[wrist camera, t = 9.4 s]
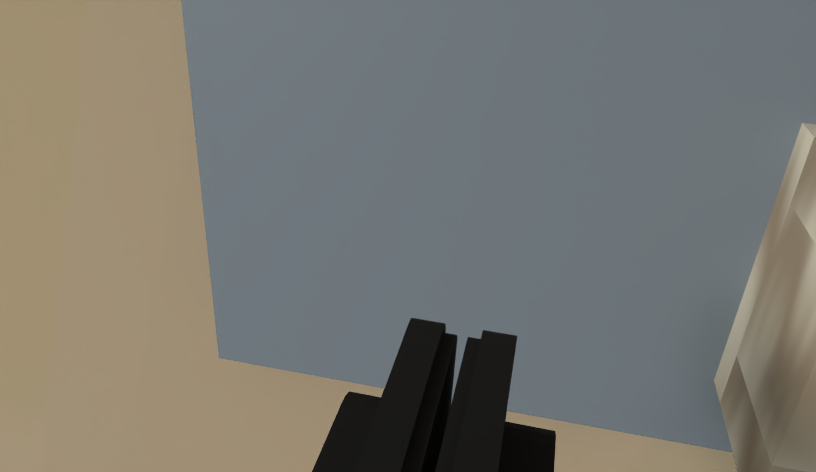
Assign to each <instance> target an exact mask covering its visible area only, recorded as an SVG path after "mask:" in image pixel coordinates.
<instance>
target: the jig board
mask: <svg viewBox="0 0 816 472" xmlns="http://www.w3.org/2000/svg"><path fill="white" fill-rule="evenodd" d="M181 2H182V11H183V21H184V30H185V40H186V49H187V59H188V68H189V78H190V87H191V97H192V106H193V116H194V125H195V135H196V144H197V153H198V163H199V172H200V182H201V191H202V201H203V210H204V220H205V229H206V239H207V248H208V258H209V267H210V277H211V286H212V296H213V305H214V315H215V324H216V334H217V343H218V352H219V358H222V359H228V360H233V361H239V362H244V363H249V364H255V365H260V366H266V367H271V368H277V369H282V370H287V371H293V372H298V373H304V374H309V375H315V376H320V377H326V378H331V379H336V380H342V381H347V382H353V383H358V384H364V385H369V386H374V387H380V388H385V386H386V383H387V381H388V378H389V375H390V372H391V370H392V367H393V364H394V361H395V359H396V356H397V353H398V351H399V348H400V345H401V342H402V340H403V337H404V334H405V332H406V329H407V326H408V323H409V321H410V319H411V318H416V319H422V320H428V321H434V322H440V323H445V324H446V333H449V334H455V335H457V349H456V359H455V369H454V380H453V390H452V399H453V395H454V391H455V387H456V383H457V379H458V375H459V371H460V366H461V362H462V358H463V354H464V350H465V346H466V342H467V338H468V337H472V338H478V339H481V336H482V332H483V330H486V331H492V332H498V333H504V334H510V335H516V336H517V343H516V350H515V357H514V364H513V371H512V378H511V384H510V391H509V398H508V405H507V411H510V412H516V413H521V414H527V415H532V416H538V417H543V418H549V419H554V420H559V421H565V422H570V423H576V424H581V425H587V426H592V427H597V428H603V429H608V430H614V431H619V432H625V433H630V434H636V435H641V436H646V437H652V438H657V439H663V440H668V441H674V442H679V443H684V444H690V445H695V446H701V447H706V448H712V449H717V450H723V451H728V452H732V448H731V444H730V440H729V436H728V432H727V429H726V425H725V421H724V417H723V413H722V409H721V405H720V402H719V398H718V394H717V390H716V386H715V382H714V379H715V376H716V373H717V370H718V367H719V364H720V361H721V358H722V355H723V352H724V349H725V346H726V344H727V341H728V338H729V335H730V332H731V329H732V326H733V323H734V320H735V317H736V314H737V311H738V309H739V306H740V303H741V300H742V297H743V294H744V291H745V288H746V285H747V282H748V279H749V276H750V274H751V271H752V268H753V265H754V262H755V259H756V256H757V253H758V250H759V247H760V244H761V241H762V239H763V236H764V233H765V230H766V227H767V224H768V221H769V218H770V215H771V212H772V209H773V206H774V204H775V201H776V198H777V195H778V192H779V189H780V186H781V183H782V180H783V177H784V174H785V171H786V169H787V166H788V163H789V160H790V157H791V154H792V151H793V148H794V145H795V142H796V139H797V136H798V134H799V131H800V128H801V125H802V123H808V124H816V0H181ZM451 401H452V400H451Z"/></svg>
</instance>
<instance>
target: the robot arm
mask: <svg viewBox="0 0 816 472" xmlns="http://www.w3.org/2000/svg"><path fill="white" fill-rule="evenodd" d="M516 343H517V336H516V335H510V334H504V333H498V332H492V331H486V330H483V332H482V336H481V339H478V338H472V337H468V338H467V342H466V346H465V350H464V354H463V358H462V362H461V366H460V371H459V375H458V379H457V383H456V387H455V391H454V395H453V399H452V390H453V380H454V369H455V359H456V349H457V335H455V334H449V333H446V324H445V323H440V322H434V321H428V320H422V319H416V318H411V319H410V321H409V323H408V326H407V329H406V332H405V334H404V337H403V340H402V342H401V345H400V348H399V351H398V353H397V356H396V359H395V361H394V364H393V367H392V370H391V372H390V375H389V378H388V381H387V383H386V386H385V389H384V391H383V394H382V397H381V398H380V397H375V396H370V395H364V394H359V393H354V392H348V393H347V395H346V396H345V398H344V400H343V402H342V404H341V406H340V408H339V411H338V413H337V415H336V418H335V420H334V422H333V425H332V427H331V429H330V432H329V434H328V436H327V439H326V441H325V443H324V445H323V448H322V450H321V452H320V455H319V457H318V459H317V462H316V464H315V466H314V469H313V471H312V472H554V459H555V440H556V434H555V431H552V430H546V429H541V428H536V427H531V426H526V425H520V424H515V423H510V422H505V419H506V412H507V405H508V398H509V391H510V384H511V378H512V371H513V364H514V357H515V350H516ZM451 400H452V404H451Z"/></svg>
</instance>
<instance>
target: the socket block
mask: <svg viewBox="0 0 816 472" xmlns="http://www.w3.org/2000/svg"><path fill="white" fill-rule="evenodd" d="M714 382H715V386H716V390H717V394H718V398H719V402H720V405H721V409H722V413H723V417H724V421H725V425H726V429H727V432H728V436H729V440H730V444H731V448H732V452H733V456H734V460H735V463H736V467H737V471H738V472H816V124H808V123H802V125H801V128H800V131H799V134H798V136H797V139H796V142H795V145H794V148H793V151H792V154H791V157H790V160H789V163H788V166H787V169H786V171H785V174H784V177H783V180H782V183H781V186H780V189H779V192H778V195H777V198H776V201H775V204H774V206H773V209H772V212H771V215H770V218H769V221H768V224H767V227H766V230H765V233H764V236H763V239H762V241H761V244H760V247H759V250H758V253H757V256H756V259H755V262H754V265H753V268H752V271H751V274H750V276H749V279H748V282H747V285H746V288H745V291H744V294H743V297H742V300H741V303H740V306H739V309H738V311H737V314H736V317H735V320H734V323H733V326H732V329H731V332H730V335H729V338H728V341H727V344H726V346H725V349H724V352H723V355H722V358H721V361H720V364H719V367H718V370H717V373H716V376H715V379H714Z"/></svg>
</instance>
